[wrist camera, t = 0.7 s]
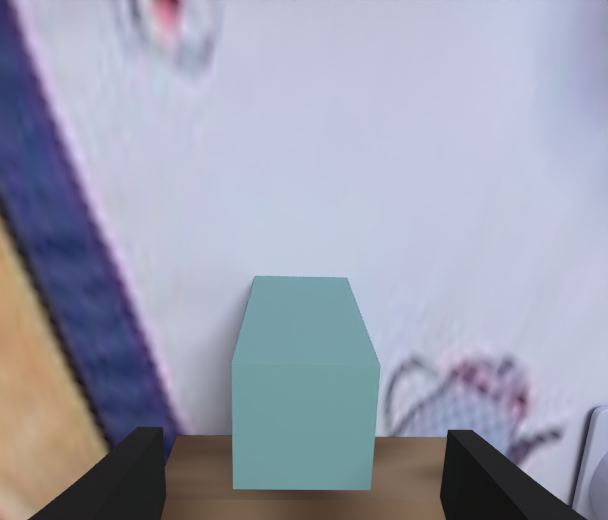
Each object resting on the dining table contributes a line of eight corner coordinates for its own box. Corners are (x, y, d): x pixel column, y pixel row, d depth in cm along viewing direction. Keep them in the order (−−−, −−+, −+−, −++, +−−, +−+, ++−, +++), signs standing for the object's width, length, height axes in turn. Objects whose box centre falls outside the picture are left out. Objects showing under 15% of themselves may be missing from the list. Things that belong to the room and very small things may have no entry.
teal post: (346, 277, 20) (380, 365, 12) (342, 360, 21) (370, 489, 13) (255, 275, 20) (231, 363, 12) (255, 359, 21) (232, 489, 13)
